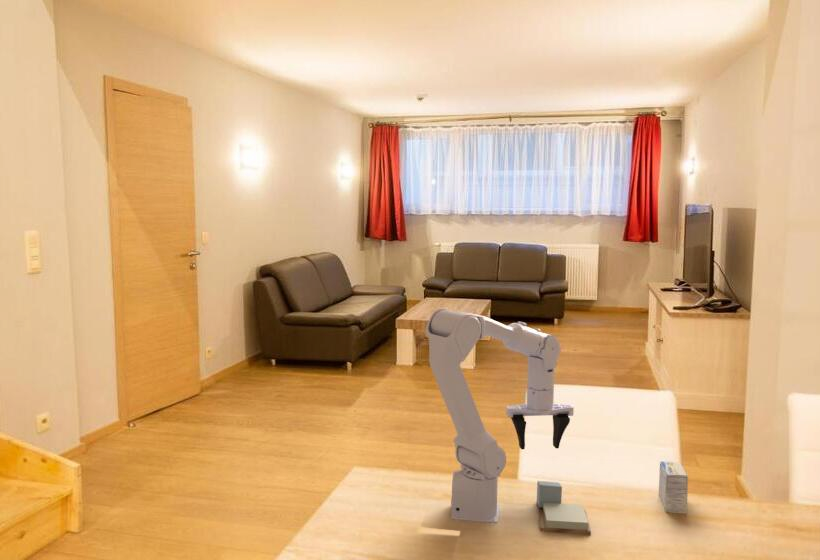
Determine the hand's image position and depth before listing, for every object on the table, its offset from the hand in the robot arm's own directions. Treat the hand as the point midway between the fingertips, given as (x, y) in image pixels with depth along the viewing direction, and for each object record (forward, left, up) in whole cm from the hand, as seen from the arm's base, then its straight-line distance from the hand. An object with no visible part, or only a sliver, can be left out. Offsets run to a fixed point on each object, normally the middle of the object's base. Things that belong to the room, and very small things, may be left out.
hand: (538, 447), depth 146 cm
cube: (+2, -7, -10) cm, 12 cm away
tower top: (+5, -14, -10) cm, 18 cm away
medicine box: (+28, -2, -11) cm, 30 cm away
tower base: (+5, -13, -11) cm, 18 cm away
